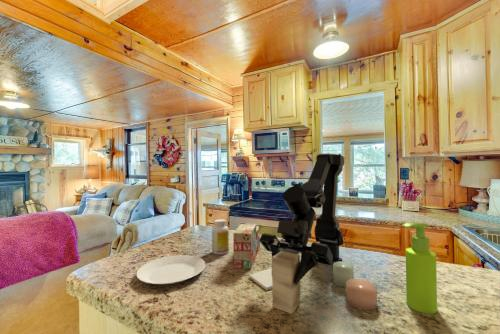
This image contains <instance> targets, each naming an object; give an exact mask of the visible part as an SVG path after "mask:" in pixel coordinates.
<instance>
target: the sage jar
mask: <svg viewBox="0 0 500 334" xmlns="http://www.w3.org/2000/svg"><path fill="white" fill-rule="evenodd" d="M332 275H333V276H332V277H333V278H332V281H333V283H334V285H336V286H338V287H340V288H346V282H347V281H348V280H350V279H355V267H354V265H353V264H352V263H349V262H346V261H338V262H333V263H332Z"/></svg>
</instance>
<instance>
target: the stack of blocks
mask: <svg viewBox="0 0 500 334" xmlns="http://www.w3.org/2000/svg"><path fill="white" fill-rule="evenodd" d="M232 235H233V236H232V237H233V240H232V241H233V245H232V246H233V247H232V248H233V268H234V269H242V270H243V269H245V270H252V268H253V266H254V264H255V263H256V259H257V255H258V253H259V251H260V247H261V243H260V241H259V240H260V237H261V234H260V226H259V225H257V223H240V224H239V225H238V226H237V228H236V229H235V230H234V232H233V234H232Z"/></svg>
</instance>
